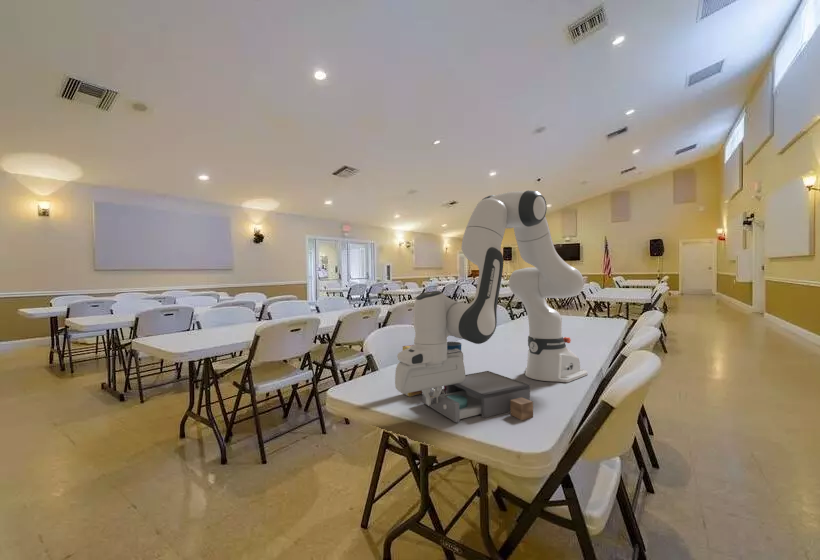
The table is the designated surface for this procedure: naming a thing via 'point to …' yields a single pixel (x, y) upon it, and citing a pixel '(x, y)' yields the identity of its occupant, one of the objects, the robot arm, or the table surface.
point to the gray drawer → (456, 405)
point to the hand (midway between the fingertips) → (432, 403)
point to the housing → (492, 391)
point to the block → (521, 408)
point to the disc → (459, 400)
